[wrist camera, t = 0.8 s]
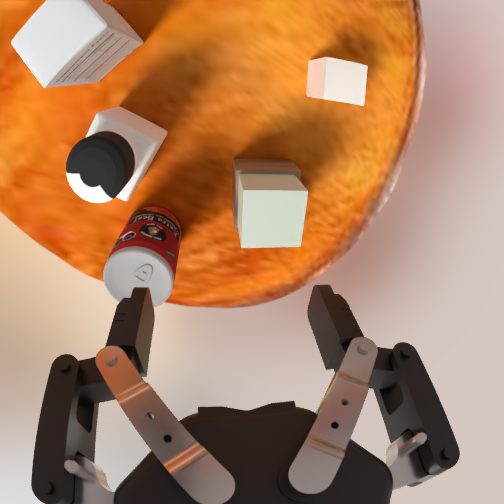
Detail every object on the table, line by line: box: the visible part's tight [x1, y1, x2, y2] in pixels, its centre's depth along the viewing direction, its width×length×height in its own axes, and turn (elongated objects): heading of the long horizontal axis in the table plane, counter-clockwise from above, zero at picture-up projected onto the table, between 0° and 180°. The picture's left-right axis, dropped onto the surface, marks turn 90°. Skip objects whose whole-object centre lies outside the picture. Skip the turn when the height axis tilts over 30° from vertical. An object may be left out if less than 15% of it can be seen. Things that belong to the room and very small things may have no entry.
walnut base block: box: [232, 159, 302, 229], centre depth 34 cm, size 7×7×5 cm
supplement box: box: [11, 0, 144, 88], centre depth 18 cm, size 7×7×13 cm
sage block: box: [238, 174, 308, 248], centre depth 29 cm, size 6×6×5 cm
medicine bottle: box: [66, 106, 168, 203], centre depth 25 cm, size 7×7×12 cm
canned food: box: [103, 206, 182, 308], centre depth 33 cm, size 8×8×11 cm
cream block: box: [306, 57, 368, 106], centre depth 27 cm, size 5×5×6 cm
